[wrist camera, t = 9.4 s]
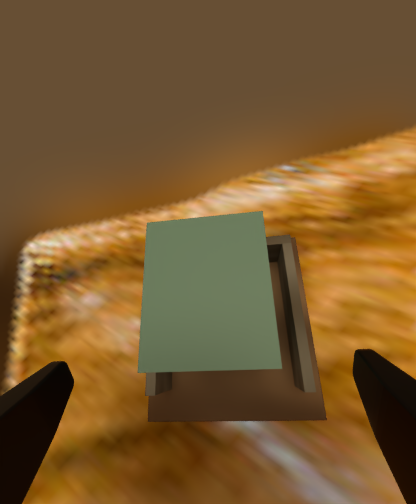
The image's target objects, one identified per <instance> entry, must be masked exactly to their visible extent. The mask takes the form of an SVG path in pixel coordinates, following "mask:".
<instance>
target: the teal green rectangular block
mask: <svg viewBox="0 0 416 504" xmlns="http://www.w3.org/2000/svg"><path fill="white" fill-rule="evenodd" d="M256 369H282V363H281V355H280V347H279V339H278V331H277V323H276V315H275V307H274V299H273V291H272V283H271V275H270V267H269V259H268V251H267V243H266V235H265V227H264V219H263V211H258V212H249V213H239V214H229V215H219V216H209V217H199V218H190V219H180V220H170V221H160V222H150V223H147V230H146V246H145V262H144V278H143V294H142V310H141V326H140V342H139V359H138V373H151V372H186V371H221V370H256Z"/></svg>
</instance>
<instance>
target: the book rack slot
mask: <svg viewBox="0 0 416 504" xmlns="http://www.w3.org/2000/svg"><path fill="white" fill-rule="evenodd" d="M266 243H267V251H268V259H269V267H270V275H271V283H272V291H273V299H274V307H275V315H276V323H277V331H278V339H279V347H280V355H281V363H282V369H256V370H221V371H186V372H151V373H146V391H145V396H149V406H148V422H163V421H282V420H327V418H326V413H325V407H324V401H323V395H322V390H321V384H320V378H319V372H318V367H317V361H316V355H315V349H314V344H313V338H312V332H311V326H310V321H309V315H308V309H307V303H306V297H305V292H304V286H303V280H302V274H301V269H300V263H299V257H298V251H297V246H296V240H295V237H294V238H290V235H283V236H272V237H266Z"/></svg>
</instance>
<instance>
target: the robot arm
mask: <svg viewBox="0 0 416 504" xmlns="http://www.w3.org/2000/svg"><path fill="white" fill-rule="evenodd" d="M353 377H354V380H355V383H356V386H357V389H358V391H359V394H360V397H361V400H362V403H363V405H364V408H365V411H366V414H367V416H368V419H369V422H370V425H371V427H372V430H373V433H374V435H375V438H376V440H377V442H378V444H379V447H380V449H381V451H382V453H383V455H384V457H385V459H386V461H387V463H388V465H389V468H390V470H391V472H392V474H393V476H394V478H395V480H396V482H397V484H398V486H399V489H400V491H401V493H402V495H403V497H404V499H405V501H406V503H407V504H416V380H415V379H414V378H412V377H411V376H410V375H408V374H407V373H405V372H404V371H402V370H401V369H400V368H398V367H397V366H395V365H394V364H392V363H391V362H389V361H388V360H387V359H385V358H384V357H382V356H381V355H379V354H378V353H377V352H375V351H374V350H371V349H358V350H356V351H355V354H354V363H353ZM73 386H74V379H73V376H72V374H71V372H70V369H69V367H68V365H67V363H66V362H64V361H54V362H51V363H49V364H48V365H46V366H45V367H43V368H42V369H40V370H39V371H37V372H36V373H34V374H33V375H31V376H30V377H28V378H27V379H25V380H24V381H22V382H21V383H19V384H18V385H16V386H15V387H13V388H12V389H10V390H9V391H7V392H6V393H5V394H3V395H2V396H0V504H22V503H23V501H24V498H25V496H26V494H27V492H28V490H29V488H30V486H31V484H32V482H33V480H34V478H35V476H36V474H37V471H38V469H39V467H40V465H41V463H42V461H43V459H44V457H45V455H46V453H47V451H48V449H49V447H50V444H51V442H52V440H53V438H54V435H55V433H56V431H57V428H58V426H59V423H60V420H61V418H62V415H63V412H64V410H65V407H66V405H67V402H68V399H69V397H70V394H71V392H72V389H73Z"/></svg>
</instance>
